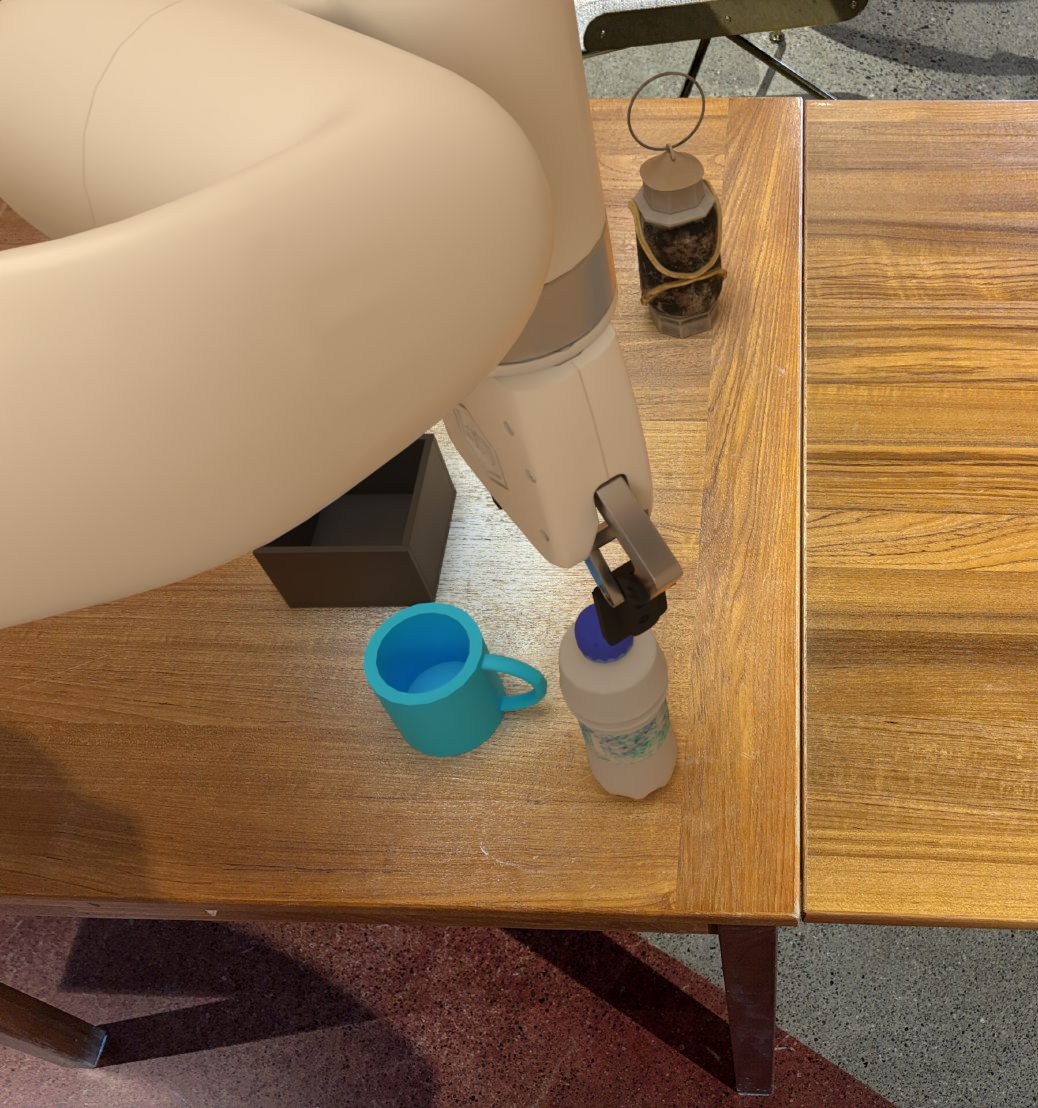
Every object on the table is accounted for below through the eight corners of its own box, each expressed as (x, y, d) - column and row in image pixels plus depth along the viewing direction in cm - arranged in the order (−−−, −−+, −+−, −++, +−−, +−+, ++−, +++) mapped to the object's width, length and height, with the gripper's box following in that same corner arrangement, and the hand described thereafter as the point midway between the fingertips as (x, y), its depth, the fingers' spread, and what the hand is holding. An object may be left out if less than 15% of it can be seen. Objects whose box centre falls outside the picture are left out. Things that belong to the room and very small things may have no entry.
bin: (433, 606, 85) (407, 551, 79) (289, 607, 86) (251, 553, 79) (456, 492, 92) (434, 433, 86) (322, 493, 92) (290, 435, 86)
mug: (385, 754, 78) (349, 703, 71) (411, 657, 83) (379, 600, 76) (547, 761, 77) (526, 709, 71) (564, 662, 82) (546, 605, 75)
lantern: (709, 277, 107) (695, 35, 87) (741, 328, 103) (734, 86, 83) (628, 302, 106) (594, 61, 85) (657, 354, 101) (629, 114, 81)
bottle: (629, 707, 80) (593, 552, 63) (701, 755, 77) (682, 607, 61) (570, 776, 77) (516, 632, 60) (643, 828, 74) (607, 693, 58)
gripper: (297, 191, 39) (422, 484, 53) (541, 474, 31) (612, 732, 45) (475, 116, 42) (550, 414, 56) (744, 359, 34) (752, 637, 48)
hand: (578, 556), depth 50 cm, fingers open, 9 cm apart
